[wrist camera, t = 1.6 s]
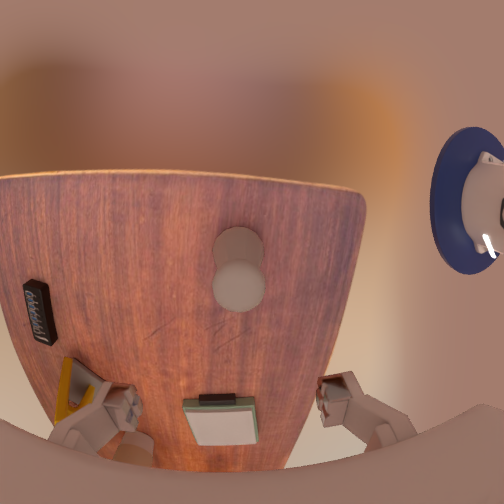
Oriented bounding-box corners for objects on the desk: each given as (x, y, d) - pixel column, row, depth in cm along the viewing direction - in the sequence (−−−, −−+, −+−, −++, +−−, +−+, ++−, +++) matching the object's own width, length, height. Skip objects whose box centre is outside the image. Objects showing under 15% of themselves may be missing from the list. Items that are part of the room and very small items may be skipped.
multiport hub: (48, 284, 34) (40, 289, 31) (58, 340, 37) (52, 347, 34) (30, 278, 33) (22, 283, 31) (40, 333, 36) (34, 340, 34)
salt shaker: (252, 274, 34) (260, 333, 22) (208, 260, 34) (192, 313, 21) (269, 231, 33) (288, 270, 20) (223, 215, 32) (214, 246, 20)
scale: (253, 392, 41) (254, 404, 38) (258, 433, 45) (259, 444, 42) (182, 394, 40) (179, 406, 38) (197, 435, 44) (196, 446, 42)
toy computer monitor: (73, 344, 37) (29, 405, 22) (112, 367, 38) (77, 436, 23) (67, 402, 42) (40, 452, 27) (98, 419, 43) (75, 473, 28)
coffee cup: (167, 445, 46) (157, 500, 31) (142, 451, 47) (130, 501, 32) (135, 423, 43) (118, 481, 29) (112, 431, 44) (94, 482, 30)
